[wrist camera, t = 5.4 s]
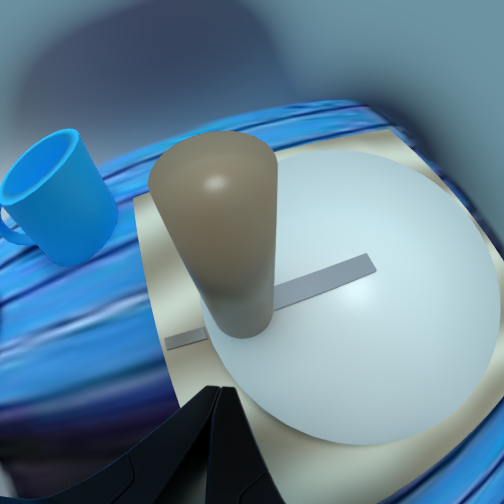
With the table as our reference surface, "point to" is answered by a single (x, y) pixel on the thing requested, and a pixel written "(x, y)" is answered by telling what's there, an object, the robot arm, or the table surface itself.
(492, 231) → the table surface
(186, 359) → the dial board
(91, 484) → the robot arm
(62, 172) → the mug
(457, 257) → the dial
